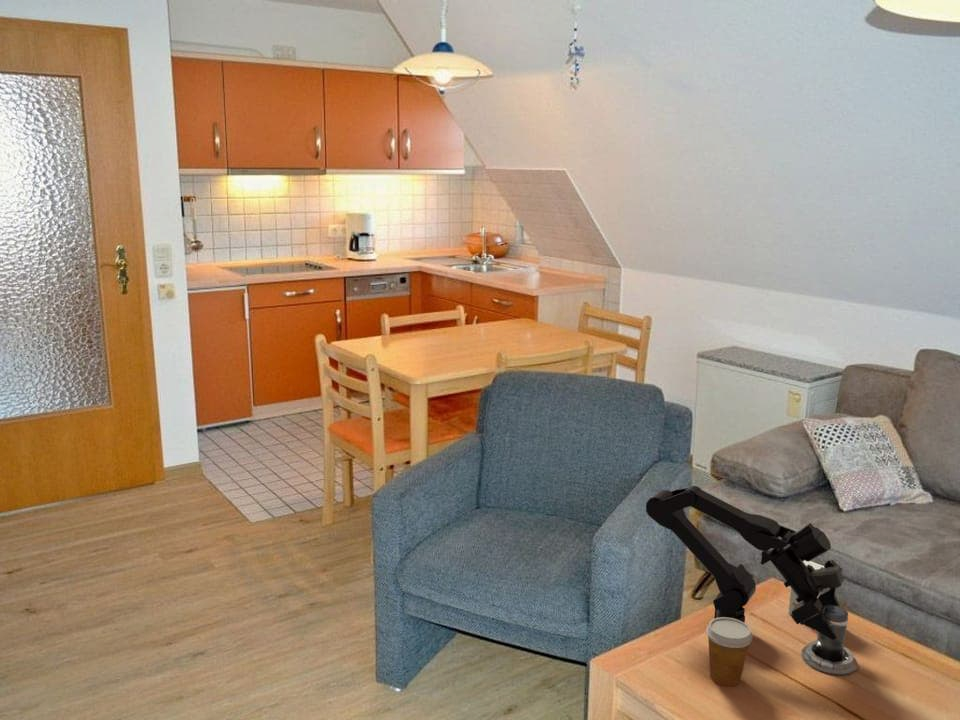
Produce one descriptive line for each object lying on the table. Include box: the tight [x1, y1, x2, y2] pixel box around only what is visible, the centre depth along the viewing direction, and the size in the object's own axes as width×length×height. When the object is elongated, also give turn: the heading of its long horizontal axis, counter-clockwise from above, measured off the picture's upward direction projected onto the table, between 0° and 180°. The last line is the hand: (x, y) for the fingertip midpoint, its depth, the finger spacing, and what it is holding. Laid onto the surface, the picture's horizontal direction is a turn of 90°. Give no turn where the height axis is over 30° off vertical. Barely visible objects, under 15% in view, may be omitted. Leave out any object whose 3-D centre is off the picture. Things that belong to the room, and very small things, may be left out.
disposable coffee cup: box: [705, 617, 754, 687], centre depth 180 cm, size 10×10×12 cm
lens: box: [815, 605, 849, 662], centre depth 188 cm, size 6×6×12 cm
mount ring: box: [800, 639, 858, 676], centre depth 189 cm, size 12×12×2 cm
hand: (839, 629), depth 186 cm, fingers open, 9 cm apart
